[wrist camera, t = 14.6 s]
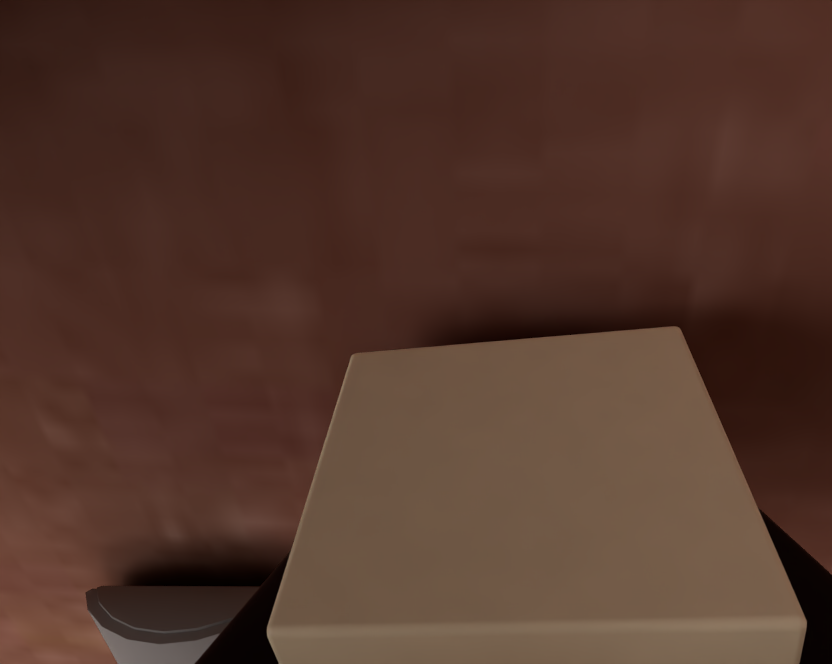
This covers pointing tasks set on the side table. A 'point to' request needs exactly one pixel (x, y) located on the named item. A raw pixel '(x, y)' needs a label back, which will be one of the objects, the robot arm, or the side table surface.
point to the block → (532, 515)
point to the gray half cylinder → (164, 620)
